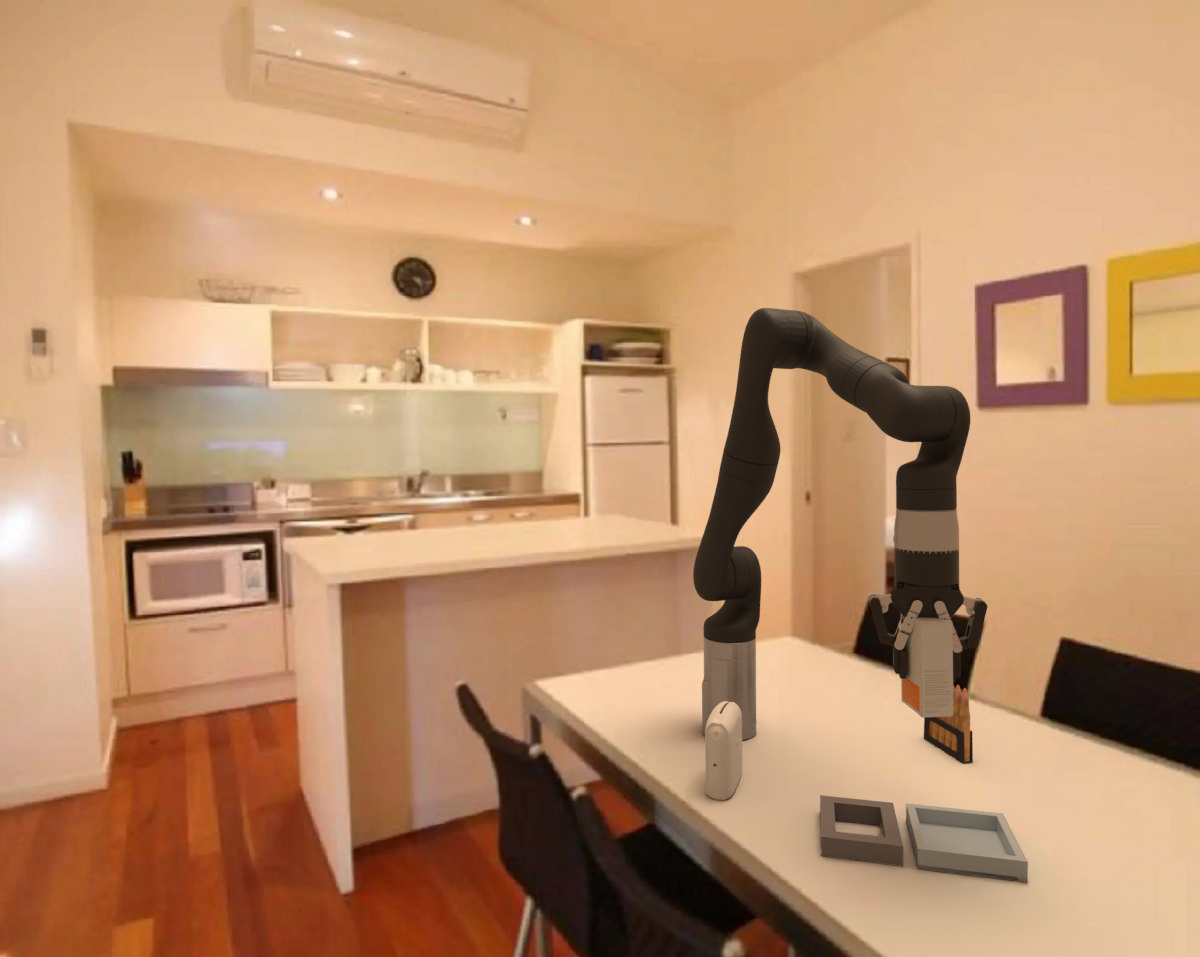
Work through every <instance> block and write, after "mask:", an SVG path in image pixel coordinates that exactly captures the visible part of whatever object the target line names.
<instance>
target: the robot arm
mask: <svg viewBox="0 0 1200 957" xmlns="http://www.w3.org/2000/svg"><path fill="white" fill-rule="evenodd" d="M774 369H779V370H780V369H781V370H782V369H783V370H794V369H795V370H796V369H801V370H807V371H809V372H814V373H817V374H818V375H821V376H823V377H825V380H826V382H827V385H828V387H829V388H830V389H831V391H833V393H834V394H835V395H836V396H838V397H839V398H840V399H841V400H843V401H845V402H847V403H848V404H849V405H851V406H853V407H855V408H857V409H858V410H860V411H862V412H864V413H866V414H867V416H868V417H869V418H870V419H871V420H872V422H873V423H874V424H875V425H876V426H877V427H878V428H879V430H880V431H882V432H883V433H884V434H885V435H887V437H890V438H892V439H895V440H897V441H901V442H905V443H920V444H921V445H920V448H919V451H918V454H917V457H916V458H915V459H914V460H911V461H909V462H908V461H907V462H906V463H903V464H902V465H900V466H899V467H898V468H897V471H896V475H895V503H896V504H895V508H896V509H895V518H894V527H893V530H894V531H893V532H894V533H893V538H892V541H893V546H894V548H893V549H894V552H893V556H894V558H893V559H894V560H893V563H894V564H893V565H894V570H893V571H894V578H893V579H894V583H893V587H892V589H891V590H890V593H887V594H882V595H877V594H871V595H870V596H869V599H868V600H869V603H870V604H869V605H870V608H871V613H872V617H873V620H874V624H875V627H876V628H875V629H876V634H877V637H878V641H879V642H880V643H881V644H883V645H887V646H889V647H891V648H892V667H893V670H894V672H895V675H898V677H899V679H906V650H905V647H904V646H905V644H906V641H907V639H908V637H909V635H910V634H911V632H912V629H913V621H914V619H917V617H919V618H939V619H944V618H946V619H947V620H951V621H952V618H953V616H954V615H956V613H957V612H958V611H959V609H960V608H961V607H962V606H964V607H965V613H966V614H967V615H969V618H968V620H967V621H968V622H967V625H966V628H965V629H966V630H965V633H964V636H960V637H959V636H958V634H957V630H956V629H955V628H956V627H955V626H954V623H953V622H952V630H953V683H956V680H957V678H958V679H960V677H961V675H962V654H963V652H964V651H966V650H969V649H977V648H978V646H979V643H980V640H981V634H982V631H983V627H984V623H985V618H986V614H987V609H988V604H987V603H986V602H985V600H983V599H982V598H979V597H977V598H972V597H969V596H964V594H963V593H962V590H961V588H960V527H959V526H960V525H959V518H958V510H957V508H958V505H957V504H958V503H957V498H958V497H957V496H958V495H957V494H958V492H957V488H958V486H957V485H958V483H957V476H958V472H959V469H960V466H961V462H962V459H963V455H964V452H965V448H966V444H967V441H968V436H969V433H970V427H971V411H970V406H969V403H968V401H967V399H966V397H965V395H964V394H963V393H962V392H961V391H960V390H958V388H955V387H952V386H949V385H914V384H912V383H911V384H910V382H909V379H908V378H907V376H906V374H905V373H904V372H903V371H902V370H900V369H899V368H897V367H896V366H894V365H892V364H889V363H888V362H885V361H883V360H881V359H880V358H877V357H876V356H874V355H873V356H872V354H871V355H870V354H869V353H866V352H864V351H862V350H860V349H858V348H856V347H854V346H852V345H851V344H849V343H847V342H846V341H845V340H843V339H842V338H841V337H839V336H838V335H837V334H835V333H834V332H832V330H830V329H829V328H827V327H826V326H825V325H824V324H823V323H822V322H821V321H819V320H818V319H817V318H815V317H814V316H812V315H811V314H809V313H807V312H806V311H801V310H796V309H795V310H792V309H783V308H773V307H772V308H771V307H762V308H759V309H757V310H755V311H754V312H753V313H752V314H751V316H750V317H749V319H748V321H747V323H746V325H745V328H744V333H743V337H742V342H741V348H740V356H739V363H738V371H737V372H738V373H737V379H736V381H737V382H736V389H735V395H734V402H733V408H732V413H731V416H730V417H731V418H730V423H729V427H728V431H727V436H726V439H725V443H724V447H723V451H722V456H721V461H720V464H719V466H720V467H719V471H718V476H717V481H716V482H717V483H716V487H715V491H714V495H713V500H712V503H711V507H710V510H709V511H710V512H709V515H708V518H707V522H706V525H705V528H704V532H703V534H702V538H701V540H700V543H699V546H698V549H697V552H696V554H695V560H694V564H693V570H692V573H693V574H692V575H693V576H692V580H693V586H694V589H695V591H696V593H697V595H698V596H699V597H700V598H701V599H702V600H704V601H707V602H721V601H724V602H723V604H722V606H721V607H720V608H719V609H718V610H717V611H716V612H714V613H713V614H712V615H711V616H708V617H707V618H706V619H705V621H704V622H703V628H702V629H703V679H702V681H701V704H702V706H701V708H702V709H701V710H702V711H701V713H702V714H701V717H702V718H701V719H702V723H701V725H702V727H701V728H702V731H701V732H702V735H703V736H705V729H706V723H707V720H708V718H709V716H710V714H711V713H712V711H713V709H714V708H715V707H716V706H717V705H718V704H720V703H721V702H724V701H728V702H734V703H736V704H737V705H738V706H739V708H740V710H741V713H742V741H744V740H747V739H748V740H749V739H751V738H753V737H754V736H756V735H757V636H756V635H757V628H758V625H759V623H760V618H761V617H760V616H761V598H762V596H761V595H762V570H761V564H760V561H759V558H758V556H757V555H756V553H755V551H754V550H753V549H751V548H750V547H748V546H743V545H742V546H741V545H738V546H735V544H736V541H737V539H738V537H739V534H740V532H741V530H742V529H743V527H744V525H745V524H746V523H747V522H748V520H750V518H751V516H753V515H754V513H755V512H756V511H757V510H758V508H759V507H760V506H761V504H763V502H764V500H765V499H766V498H767V496H768V495H769V493H771V492H770V491H771V490H772V488H773V485H774V482H775V478H776V473H777V469H778V466H779V461H780V457H781V450H782V449H781V442H780V438H779V435H778V431H777V428H776V426H775V422H774V419H773V417H772V414H771V411H770V406H769V391H770V384H771V383H770V382H771V378H772V374H773V371H774ZM892 603H893V605H894V606H895V607H896V609H897V610H898V611H899V614H900V615H901V614H902V615H903V616H904V618H905V620H904V622H903V616H902V617H901V616H900V620H899V622H898V624H897V628H896V631H895V632H894V634H893V633H890V632H889V631H888V629H887V624H886V620H885V617H884V613H887V612H888V611H889V605H890V604H892ZM908 623H909V625H908Z"/></svg>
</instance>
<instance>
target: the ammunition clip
mask: <svg viewBox="0 0 1200 957" xmlns="http://www.w3.org/2000/svg"><path fill="white" fill-rule="evenodd" d="M961 690H962V689H961V687H960V685H959V684H957V685H956V687H955V685H954V684H953V711H954V712H953V716H949V717H925V718H924V720H923V740H925V741H926V742H927V743H929V742H930V743H929V744H931V745H932V746H934V747H935V748H937V749H939V750H940V749H941V751H942V752H943V751H944V752H943V753H945V754H946V755H948V756H950V757H951V756H952V757H951V758H953V757H954V758H955V759H954V758H953V759H954V760H956V761H957V762H959V763H961V764H972V763H973V762H974V760H973V759H974V756H973V755H974V754H973V752H974V751H973V742H974V741H973V730H971V712H970V701H969V700H970V699H969V693H968V690H967V688H966V687H964V688H963V690H962V691H961Z"/></svg>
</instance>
